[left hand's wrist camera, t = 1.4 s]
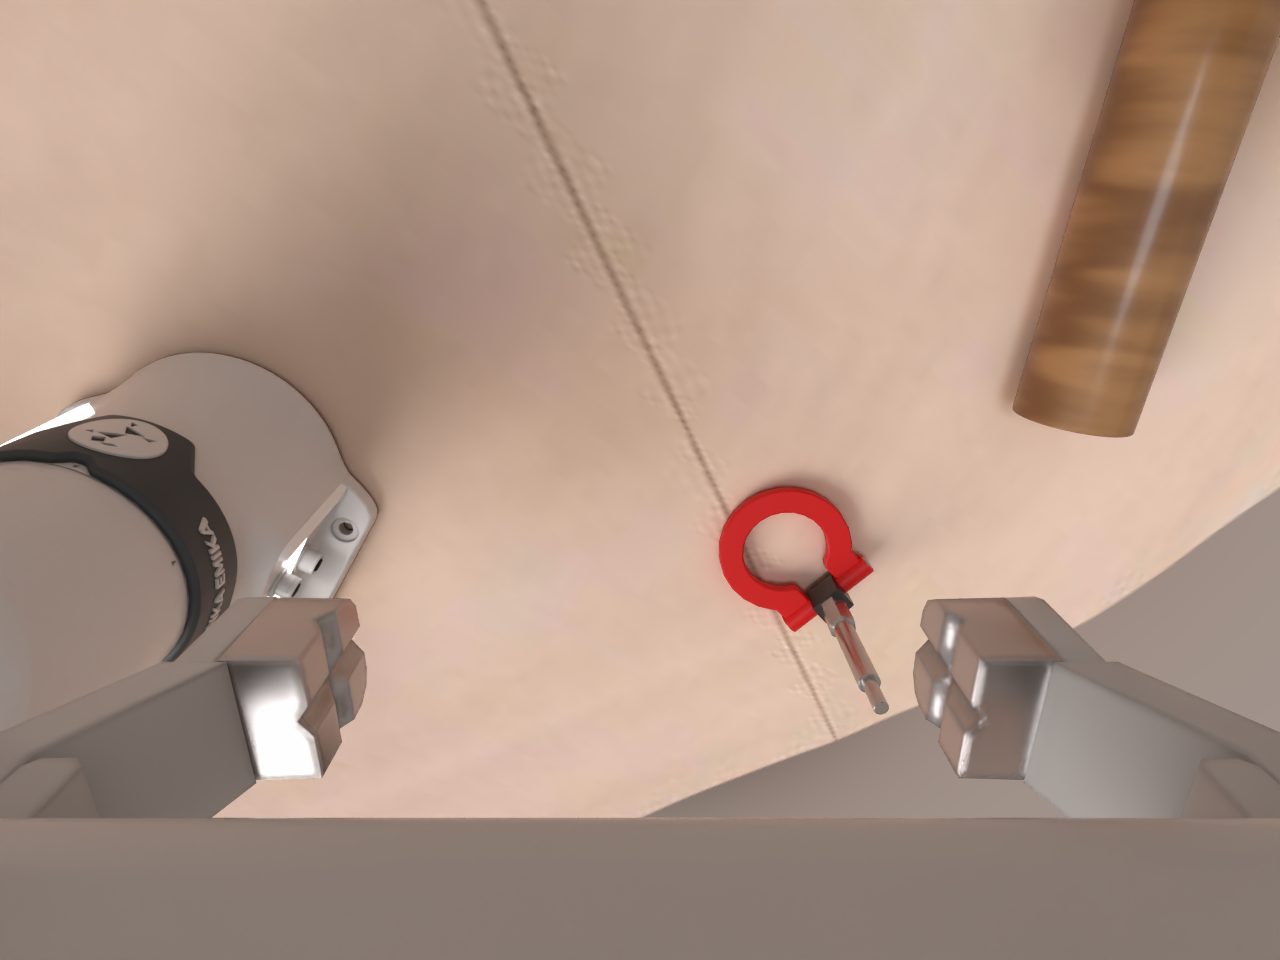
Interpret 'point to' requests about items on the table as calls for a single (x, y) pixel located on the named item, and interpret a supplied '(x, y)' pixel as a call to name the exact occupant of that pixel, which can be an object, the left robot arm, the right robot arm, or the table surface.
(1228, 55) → the rod
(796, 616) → the tow hook
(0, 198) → the table surface
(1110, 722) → the left robot arm
